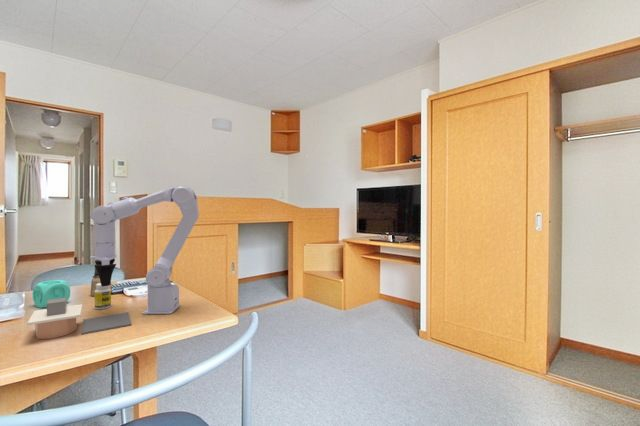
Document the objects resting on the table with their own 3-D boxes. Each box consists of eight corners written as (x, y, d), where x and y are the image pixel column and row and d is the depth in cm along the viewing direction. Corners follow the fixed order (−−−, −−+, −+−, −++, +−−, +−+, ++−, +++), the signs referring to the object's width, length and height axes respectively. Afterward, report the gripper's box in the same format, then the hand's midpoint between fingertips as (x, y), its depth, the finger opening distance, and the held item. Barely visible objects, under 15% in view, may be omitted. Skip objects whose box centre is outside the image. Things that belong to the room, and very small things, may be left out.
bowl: (82, 326, 94) (82, 309, 93) (60, 338, 85) (60, 320, 85) (52, 326, 93) (52, 310, 93) (27, 338, 84) (27, 320, 84)
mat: (128, 313, 104) (128, 312, 104) (131, 325, 95) (131, 323, 94) (83, 321, 97) (83, 319, 97) (81, 334, 88) (81, 332, 88)
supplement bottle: (102, 310, 107) (102, 286, 107) (91, 309, 108) (91, 285, 108) (114, 305, 112) (114, 282, 112) (103, 304, 113) (103, 281, 113)
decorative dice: (59, 299, 118) (58, 278, 118) (70, 302, 114) (70, 281, 114) (32, 305, 111) (32, 283, 110) (44, 309, 107) (43, 286, 107)
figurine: (108, 290, 130) (107, 262, 130) (115, 293, 126) (115, 264, 126) (87, 294, 124) (87, 264, 124) (94, 298, 120) (94, 267, 120)
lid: (82, 305, 97) (82, 292, 96) (80, 316, 88) (80, 302, 87) (34, 312, 90) (34, 298, 90) (27, 325, 81) (27, 309, 81)
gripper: (90, 240, 106) (90, 280, 107) (89, 245, 94) (89, 290, 95) (115, 239, 110) (115, 277, 111) (117, 244, 99) (117, 286, 99)
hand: (105, 283), depth 103 cm, fingers open, 7 cm apart
